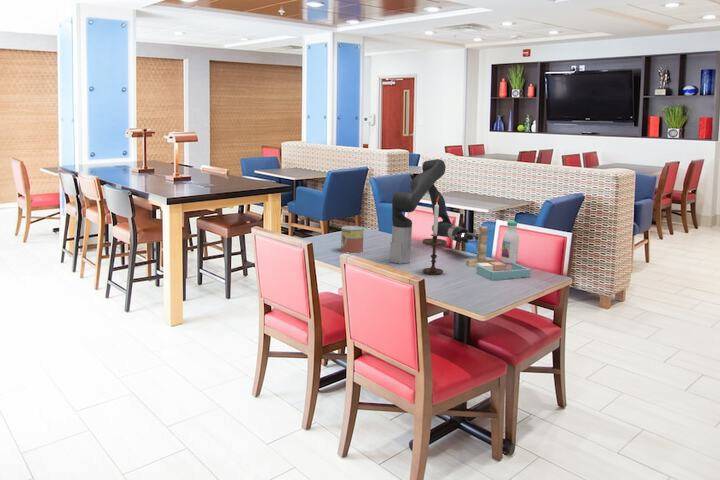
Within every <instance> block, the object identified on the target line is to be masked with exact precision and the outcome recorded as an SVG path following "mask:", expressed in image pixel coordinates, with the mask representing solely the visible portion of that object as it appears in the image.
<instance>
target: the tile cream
mask: <svg viewBox="0 0 720 480" xmlns="http://www.w3.org/2000/svg"><path fill="white" fill-rule="evenodd" d="M477 265H479V266H481V267H484V268H486V269H488V270H490V271H492V272H494V270H493V265H491V264H489V263H477V264H476V266H475V267H476V270H477Z"/></svg>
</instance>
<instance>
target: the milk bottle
mask: <svg viewBox="0 0 720 480" xmlns="http://www.w3.org/2000/svg"><path fill="white" fill-rule="evenodd" d="M506 226H507V228H506V230H505V233H504V234H503V237H502V244H501V257H500V262H501V263H504V264H512V263H516V264H518V256H519V247H520V246H519V244H520V238H519V237H520V236H519V234H518V233H519V232H518V230H517V227H518V221H513V220H509V221H507V225H506Z"/></svg>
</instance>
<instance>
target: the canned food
mask: <svg viewBox="0 0 720 480" xmlns="http://www.w3.org/2000/svg"><path fill="white" fill-rule="evenodd" d="M364 229H365V227H362V226H358V225H345V226H341V234H340V235H341V243H340V252H341V251H342V252H341V253H344V254H347V253H346V252H349V253H348V254H350V255H351V253H357V254H361V252H362V253H364V231H365V230H364Z"/></svg>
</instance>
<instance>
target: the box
mask: <svg viewBox="0 0 720 480" xmlns="http://www.w3.org/2000/svg"><path fill="white" fill-rule="evenodd" d="M511 264H512V266H511V270H504V271H490V270H488V269H486V268H484V267H481V266H479V265H477V269H476V274H478V275H479V276H481V277H484V278H486V279H487V280H490V281H498V280H499V279H501V280H510V279H509V278H514V279H522V278H521V277H526V278H531V272H532V270H531V269H530V268H528V267H525V266H523V265H521V264H518V263H511Z"/></svg>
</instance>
